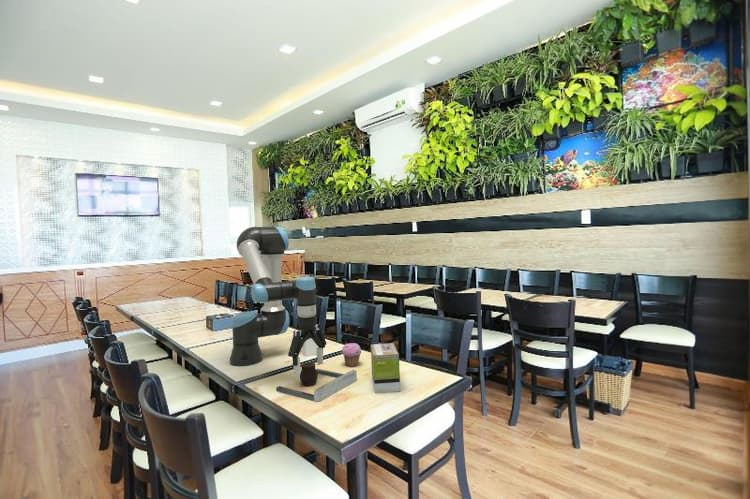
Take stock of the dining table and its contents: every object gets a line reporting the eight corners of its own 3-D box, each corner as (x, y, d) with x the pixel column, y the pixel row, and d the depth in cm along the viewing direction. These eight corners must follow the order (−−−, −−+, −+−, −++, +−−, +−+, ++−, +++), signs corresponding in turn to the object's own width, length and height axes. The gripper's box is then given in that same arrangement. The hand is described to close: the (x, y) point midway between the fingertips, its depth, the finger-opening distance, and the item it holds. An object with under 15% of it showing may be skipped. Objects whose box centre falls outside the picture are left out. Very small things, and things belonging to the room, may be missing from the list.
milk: (302, 353, 201) (300, 310, 200) (313, 351, 204) (312, 309, 203) (305, 356, 195) (304, 312, 195) (317, 354, 198) (315, 310, 197)
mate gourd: (297, 382, 161) (297, 358, 160) (316, 379, 164) (315, 355, 163) (301, 388, 154) (301, 363, 154) (320, 385, 157) (319, 360, 157)
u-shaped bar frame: (276, 391, 152) (276, 380, 152) (317, 372, 172) (316, 363, 172) (318, 402, 141) (318, 391, 141) (356, 380, 161) (356, 370, 161)
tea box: (371, 379, 162) (370, 343, 162) (395, 377, 163) (394, 342, 163) (374, 393, 147) (373, 354, 147) (400, 392, 148) (399, 353, 148)
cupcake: (338, 365, 181) (337, 343, 180) (352, 360, 187) (351, 339, 187) (351, 369, 175) (351, 347, 174) (365, 364, 181) (364, 342, 181)
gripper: (291, 322, 145) (294, 379, 146) (333, 311, 167) (335, 360, 167) (277, 320, 149) (279, 376, 150) (319, 309, 171) (321, 358, 171)
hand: (309, 368), depth 158 cm, fingers open, 13 cm apart
